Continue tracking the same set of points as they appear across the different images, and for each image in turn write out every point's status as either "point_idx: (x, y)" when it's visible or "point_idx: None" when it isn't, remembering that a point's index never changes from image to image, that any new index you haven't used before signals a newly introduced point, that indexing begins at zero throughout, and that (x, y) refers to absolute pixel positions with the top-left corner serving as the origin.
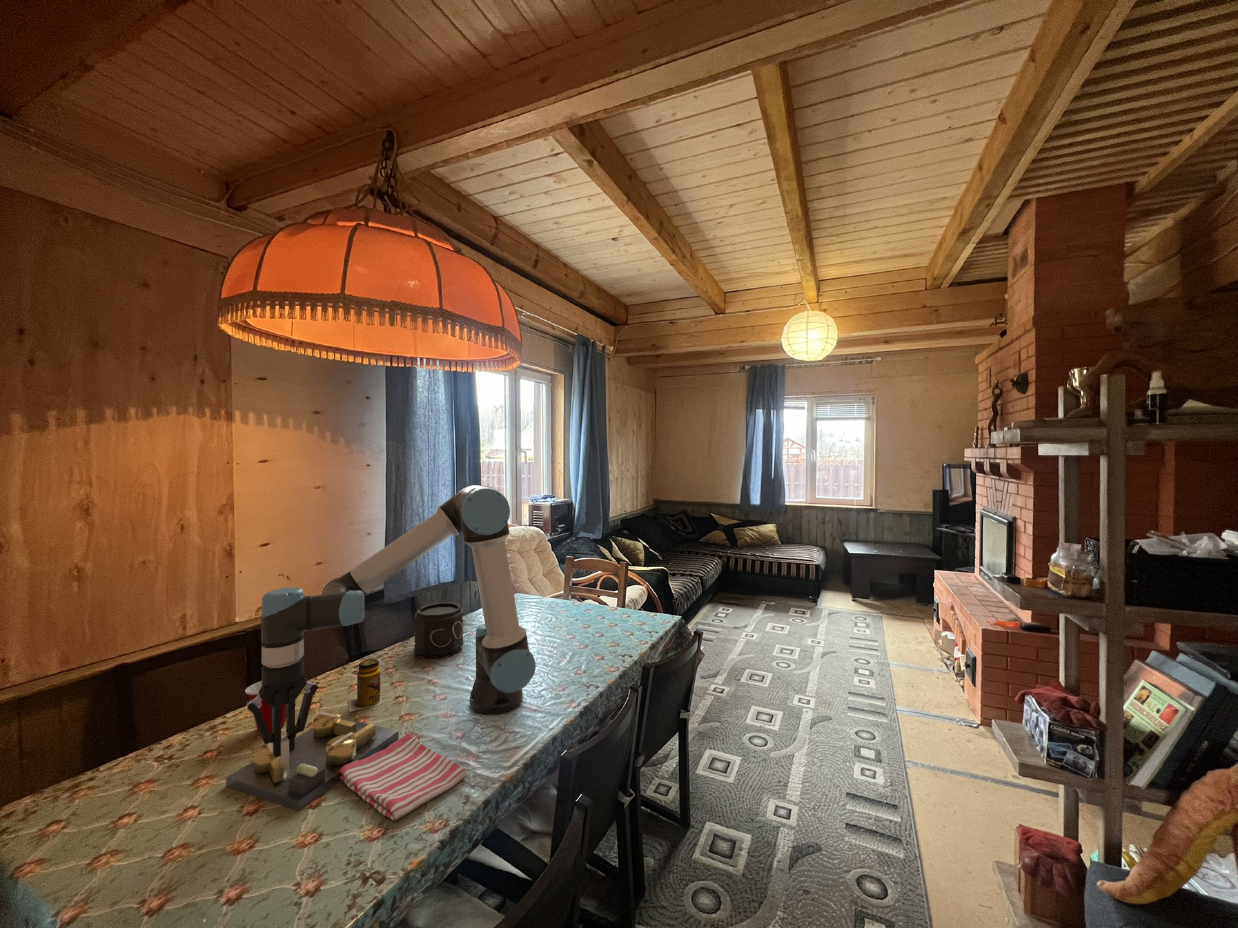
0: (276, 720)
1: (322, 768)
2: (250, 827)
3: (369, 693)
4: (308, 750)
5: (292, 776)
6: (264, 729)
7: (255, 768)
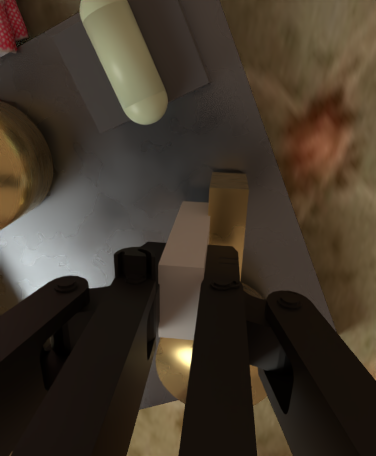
0: (230, 419)
1: (62, 46)
2: (367, 4)
3: None
4: None
5: (176, 181)
6: (338, 383)
7: None
